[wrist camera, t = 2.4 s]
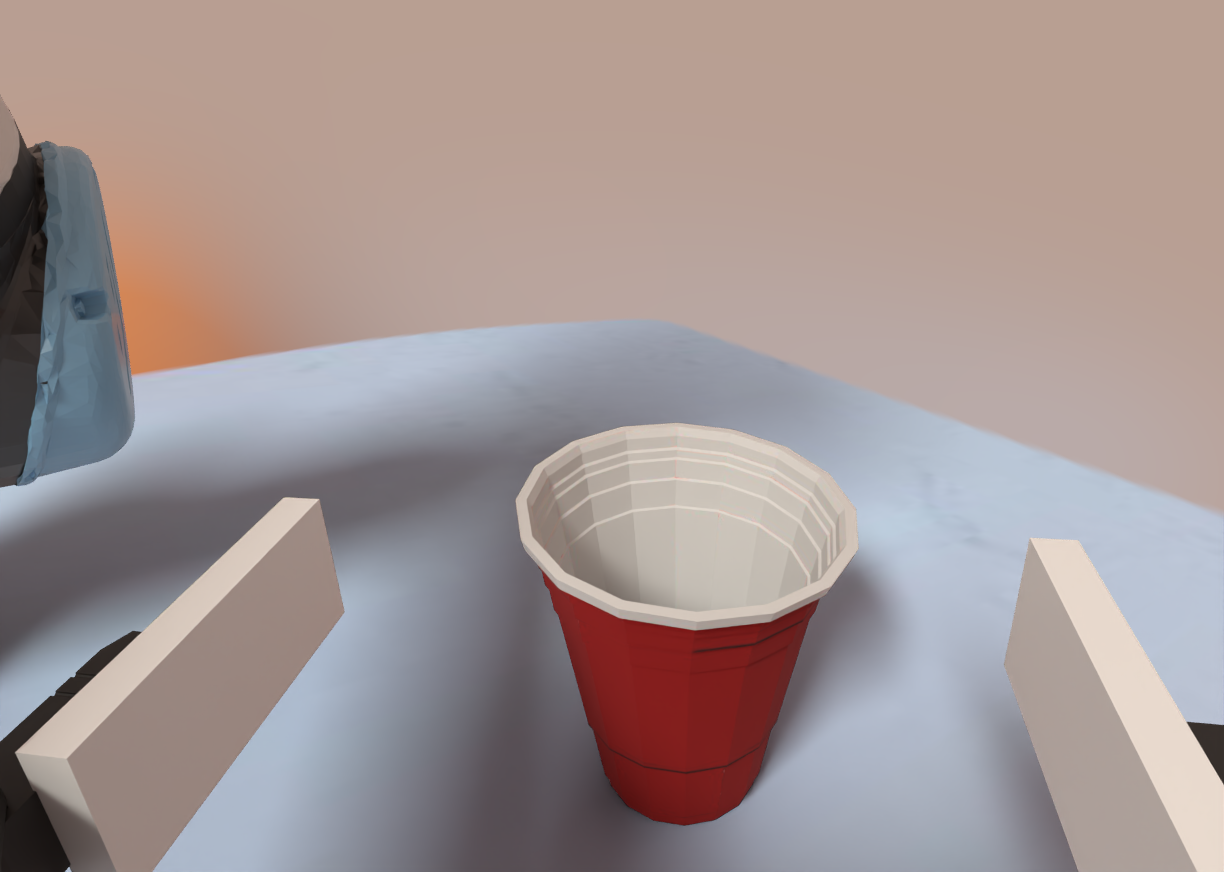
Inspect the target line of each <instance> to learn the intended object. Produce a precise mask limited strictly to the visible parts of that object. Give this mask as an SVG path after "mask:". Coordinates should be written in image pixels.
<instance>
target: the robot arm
mask: <svg viewBox="0 0 1224 872" xmlns="http://www.w3.org/2000/svg"><path fill="white" fill-rule="evenodd" d="M134 421H135V408H134V396H133V385H132V377H131V368H130V361H129V354H128V347H127V340H126V333H125V326H124V320H123V313H122V307H121V300H120V294H119V288H118V282H117V276H116V271H115V265H114V259H113V254H112V248H111V242H110V237H109V231H108V226H107V221H106V216H105V211H104V206H103V201H102V197H101V193H100V188H99V183H98V180H97V176H96V173H95V171H94V169H93V167H92V162H91V160H90V159H89V157H88V156H87V155H86V154H85V153H84V152H83V151H82V150H80V149H77V148H73V147H68V146H61V147H60V146H57V145H56V144H54V143H51V142H49V141H45V142H42V143H39V144H35V145H34V147H31V148H28V149H27V147H26V144H25V142H24V140H23V138H22V136H21V133H20V131H19V129H18V127H17V125H16V122H15V120H14V118H13V116H12V114H11V112H10V110H9V109H8V108H7V106H6V104H5V103H4V101H3V99H2V97H1V96H0V487H5V486H11V485H16V486H22V485H27V484H30V483H32V482H33V481H35V480H36V478H37V477H40V476H44V475H48V474H52V473H56V472H60V471H64V470H68V469H72V468H76V467H80V466H84V465H88V464H92V463H95V462H99V461H102V460H104V459H107V458H109V457H111V456H113V455H114V454H115V453H117V452H118V451H119V450H120V449H121V448H122V447H123V446H124V445H125V444H126V443H127V441H128V439H129V438H130V436H131V433H132V430H133V427H134ZM343 614H344V607H343V603H342V598H341V594H340V589H339V585H338V580H337V576H336V571H335V567H334V562H333V558H332V553H331V549H330V544H329V540H328V536H327V531H326V527H325V522H324V518H323V513H322V509H321V504H320V500H319V499H307V498H289V497H284V498H283V499H282V500H281V501H280V502H278V503H277V504H276V505H275V506H274V507H273V508H272V509H271V510H270V511H269V512H268V513H267V514H266V515H265V516H264V517H263V518H262V519H261V520H260V521H258V522H257V523H256V524H255V525H254V526H253V527H252V528H251V529H250V530H249V531H248V532H247V533H246V534H245V535H244V536H243V537H242V538H241V539H239V540H238V541H237V542H236V543H235V544H234V545H233V546H232V547H231V548H230V549H229V550H228V551H227V552H226V553H225V554H224V555H223V556H222V557H221V558H219V559H218V560H217V561H216V562H215V563H214V564H213V565H212V566H211V567H210V568H209V569H208V570H207V571H206V572H205V573H204V574H203V575H202V576H200V577H199V578H198V579H197V580H196V581H195V582H194V583H193V584H192V585H191V586H190V587H189V588H188V589H187V590H186V591H185V592H184V593H183V594H182V595H180V596H179V597H178V598H177V599H176V600H175V601H174V602H173V603H172V604H171V605H170V606H169V607H168V608H167V609H166V610H165V611H164V612H163V613H162V614H160V615H159V616H158V617H157V618H156V619H155V620H154V621H153V622H152V623H151V624H150V625H149V626H148V627H147V628H146V629H145V630H144V631H143V632H138V631H132V632H130V633H129V634H127V635H125V636H123V637H122V638H120V639H118V640H117V641H115V642H113V643H112V644H110V645H108V646H106V647H105V648H103V649H101V650H100V651H99V652H98V653H97V654H96V655H94V656H93V657H92V658H91V659H90V660H89V661H88V662H87V663H86V664H85V665H84V666H82V667H81V668H80V669H79V670H78V671H77V672H76V675H75V677H70V678H69V679H68V680H67V681H66V682H65V683H64V684H63V685H62V686H61V687H60V688H58V689H57V690H56V693H55V695H54V696H50V697H49V698H48V699H46V700H45V701H44V702H43V703H42V704H41V705H40V706H39V707H38V708H37V709H36V710H34V711H33V712H32V713H31V714H30V715H29V716H28V717H27V718H26V719H25V720H24V721H22V722H21V723H20V724H19V725H18V726H17V727H16V728H15V729H14V730H13V731H12V732H10V733H9V734H8V735H7V736H6V737H5V738H4V739H3V740H2V741H1V742H0V872H65V871H66V870H67V868H68V867H70V869H71V871H72V872H152V871H153V870H154V868H155V867H156V866H157V864H158V863H159V862H160V860H161V859H162V858H163V856H164V855H165V854H166V852H167V851H168V850H169V848H170V847H171V846H172V844H173V843H174V841H175V840H176V839H177V837H178V836H179V835H180V833H181V832H182V831H183V829H184V828H185V827H186V825H187V824H188V823H189V821H190V820H191V819H192V817H193V816H194V814H195V813H196V812H197V810H198V809H199V808H200V806H201V805H202V804H203V802H204V801H205V800H206V798H207V797H208V796H209V794H210V793H211V792H212V790H213V789H214V788H215V786H216V785H217V783H218V782H219V781H220V779H221V778H222V777H223V775H224V774H225V773H226V771H227V770H228V769H229V767H230V766H231V765H232V763H233V762H234V761H235V759H236V758H237V756H238V755H239V754H240V752H241V751H242V750H243V748H244V747H245V746H246V744H247V743H248V742H249V740H250V739H251V738H252V736H253V735H254V734H255V732H256V731H257V730H258V728H259V727H260V725H261V724H262V723H263V721H264V720H265V719H266V717H267V716H268V715H269V713H270V712H271V711H272V709H273V708H274V707H275V705H276V704H277V703H278V701H279V700H280V698H281V697H282V696H283V694H284V693H285V692H286V690H287V689H288V688H289V686H290V685H291V684H292V682H293V681H294V680H295V678H296V677H297V676H298V674H299V673H300V672H301V670H302V669H303V667H304V666H305V665H306V663H307V662H308V661H309V659H310V658H311V657H312V655H313V654H314V653H315V651H316V650H317V649H318V647H319V646H320V645H321V643H322V642H323V640H324V639H325V638H326V636H327V635H328V634H329V632H330V631H331V630H332V628H333V627H334V626H335V624H336V623H337V622H338V620H339V619H340V618H341V616H342V615H343ZM1004 666H1005V669H1006V672H1007V675H1008V677H1009V680H1010V683H1011V686H1012V688H1013V691H1014V694H1015V697H1016V699H1017V702H1018V705H1019V708H1020V711H1021V713H1022V716H1023V719H1024V722H1025V724H1026V727H1027V730H1028V733H1029V736H1030V738H1031V741H1032V744H1033V747H1034V749H1035V752H1036V755H1037V758H1038V761H1039V763H1040V766H1041V769H1042V772H1043V774H1044V777H1045V780H1046V783H1047V786H1048V788H1049V791H1050V794H1051V797H1052V799H1053V802H1054V805H1055V808H1056V811H1057V813H1058V816H1059V819H1060V822H1061V824H1062V827H1063V830H1064V833H1065V835H1066V838H1067V841H1068V844H1069V847H1070V849H1071V852H1072V855H1073V858H1074V860H1075V863H1076V866H1077V869H1078V872H1224V725H1216V724H1205V723H1194V722H1186V721H1185V719H1184V717H1183V716H1182V714H1181V712H1180V711H1179V709H1178V707H1177V706H1176V704H1175V702H1174V700H1173V699H1172V697H1171V695H1170V694H1169V692H1168V690H1167V689H1166V687H1165V685H1164V684H1163V682H1162V680H1161V679H1160V677H1159V675H1158V674H1157V672H1156V670H1155V669H1154V667H1153V665H1152V663H1151V662H1150V660H1149V658H1148V657H1147V655H1146V653H1145V652H1144V650H1143V648H1142V647H1141V645H1140V643H1139V642H1138V640H1137V638H1136V637H1135V635H1134V633H1133V631H1132V630H1131V628H1130V626H1129V625H1128V623H1127V621H1126V620H1125V618H1124V616H1123V615H1122V613H1121V611H1120V610H1119V608H1118V606H1117V605H1116V603H1115V601H1114V600H1113V598H1112V596H1111V594H1110V593H1109V591H1108V589H1107V588H1106V586H1105V584H1104V583H1103V581H1102V579H1101V578H1100V576H1099V574H1098V573H1097V571H1096V569H1095V568H1094V566H1093V564H1092V562H1091V561H1090V559H1089V557H1088V556H1087V554H1086V552H1085V551H1084V549H1083V547H1082V546H1081V544H1080V542H1079V541H1077V540H1059V539H1041V538H1030V539H1029V544H1028V549H1027V554H1026V559H1025V564H1024V569H1023V574H1022V579H1021V584H1020V588H1019V593H1018V598H1017V603H1016V608H1015V613H1014V618H1013V623H1012V628H1011V633H1010V637H1009V642H1008V647H1007V652H1006V657H1005V662H1004Z"/></svg>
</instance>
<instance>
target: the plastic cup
mask: <svg viewBox="0 0 1224 872" xmlns="http://www.w3.org/2000/svg"><path fill="white" fill-rule="evenodd" d="M515 501H516V508H517V516H518V523H519V530H520V537H521V541H522V544H523V546H524V549H525V551H526V552H527V553H528V554H529V556H530V557H531V558H532V559H533V560H534V561H535V562H536V563H537V565H538V567H539V568H540V569H541V571H542V574H543V578H544V582H545V585H546V586H547V588H548V589H549V591H550V595H551V599H552V603H553V607H554V610H555V611H556V613H557V614H558V615H559V619H560V623H561V626H562V630H563V633H564V637H565V641H566V644H567V648H568V651H569V655H570V659H571V662H572V666H573V670H574V673H575V677H576V680H577V684H578V688H579V691H580V695H581V698H582V702H583V706H584V709H585V713H586V716H587V720H588V724H589V726H590V727H591V728H592V729H593V731H594V735H595V739H596V742H597V746H598V750H599V754H600V757H601V761H602V765H603V768H604V772H605V775H606V776H607V777H608V779H609V780H610V784H611V786H612V787H613V788H614V790H615V791H616V792H617V793H618V795H619V796H620V797H621V799H622V800H623V801H624V802H625V804H626V805H627V806H628V807H630V808H632V809H634V810H636V811H637V812H639V813H641V814H643V815H644V816H646V817H648V818H650V819H652V820H654V821H660V822H666V823H672V824H679V825H689V824H695V823H700V822H706V821H711V820H715V819H717V818H719V817H720V816H722V815H724V814H725V813H727V812H728V811H730V810H732V809H733V808H735V807H736V806H738V805H739V804H740V802H741V801H742V799H743V798H744V796H745V795H746V793H747V792H748V790H749V789H750V787H751V786H752V784H753V781H754V779H755V778H756V776H757V775H758V773H759V771H760V767H761V763H762V760H763V756H764V753H765V749H766V746H767V742H768V739H769V735H770V732H771V729H772V728H773V726H774V725H775V723H776V721H777V718H778V715H779V712H780V709H781V706H782V703H783V700H784V697H785V693H786V690H787V687H788V684H789V681H790V678H791V675H792V672H793V669H794V666H795V662H796V659H797V656H798V653H799V650H800V647H801V644H802V641H803V638H804V635H805V631H806V628H807V625H808V622H809V619H810V618H811V616H812V615H813V614H814V612H815V610H816V607H817V605H818V602H819V599H820V598H821V597H823V596H825V595H826V594H827V593H828V591H829V590H830V589H831V587H832V586H833V584H834V583H835V582H836V580H837V579H838V577H839V576H840V575H841V573H842V572H843V571H844V569H845V568H846V566H847V565H848V564H849V562H850V561H851V560H852V558H853V557H854V555H855V553H856V552H857V550H858V549H859V548H858V533H857V517H856V508H855V507H854V506H853V505H852V503H851V502H850V501H849V499H848V498H847V497H846V495H845V494H844V493H843V491H842V490H841V489H840V487H839V486H838V485H837V483H836V482H835V481H834V479H833V478H832V477H831V475H830V474H829V473H827V472H826V471H824V470H822V469H821V468H819V467H818V466H816V465H814V464H813V463H811V462H810V461H808V460H806V459H805V458H803V457H802V456H800V455H798V454H797V453H795V452H794V451H792V450H791V449H789V448H787V447H785V446H782V445H779V444H776V443H773V442H770V441H767V440H764V439H761V438H758V437H755V436H752V435H749V434H746V433H743V432H739V431H736V430H733V429H725V428H716V427H708V426H700V425H691V424H683V423H667V424H653V425H639V426H624V427H619V428H616V429H612V430H609V431H605V432H602V433H599V434H595V435H592V436H589V437H585V438H582V439H578V440H575V441H572V442H571V443H569V444H568V445H566V446H565V447H563V448H562V449H560V450H559V451H557V452H555V453H554V454H552V455H551V456H549V457H548V458H546V459H545V460H543V461H542V462H540V463H539V464H537V465H536V466H535V467H534V468H533V470H532V472H531V474H530V475H529V477H528V479H527V481H526V482H525V484H524V486H523V488H522V489H521V491H520V493H519V495H518V496H517V498H516V500H515Z"/></svg>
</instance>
